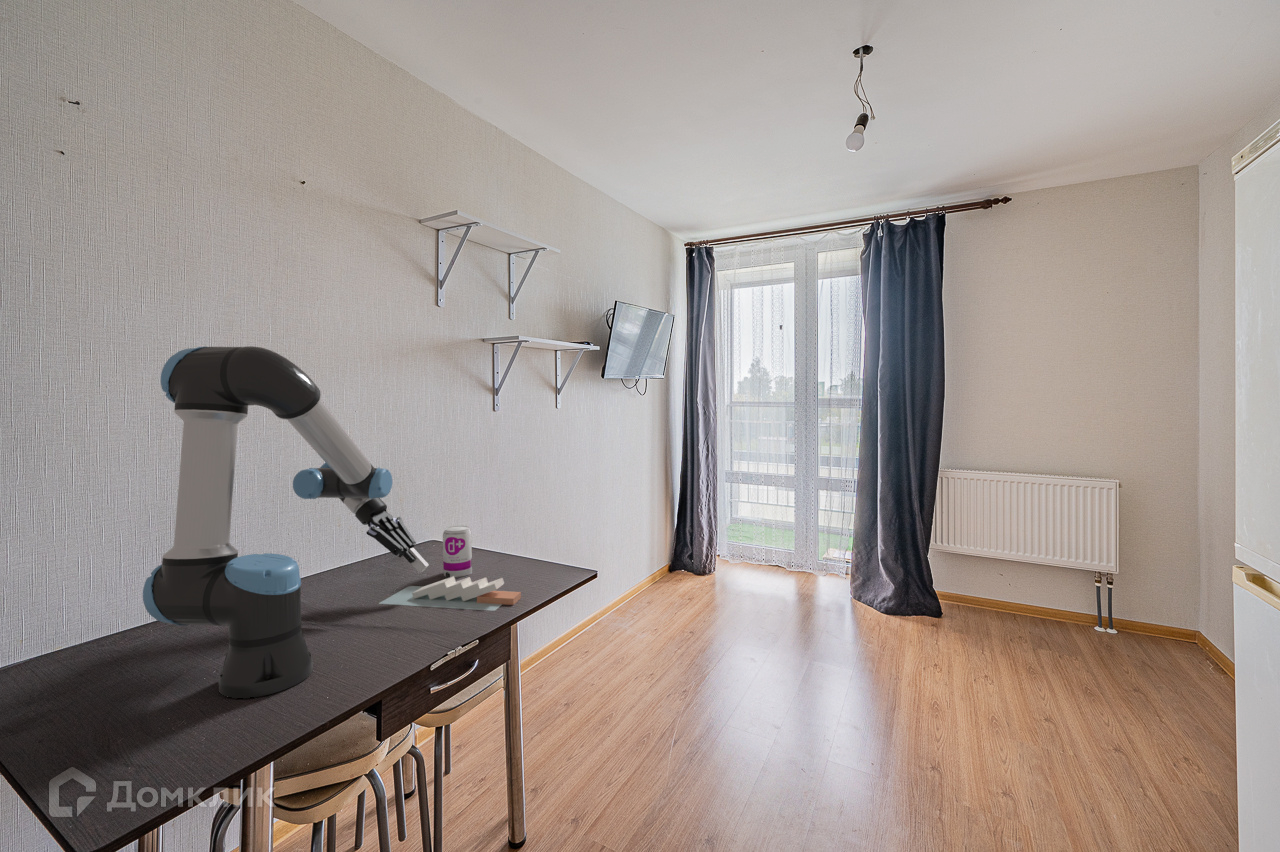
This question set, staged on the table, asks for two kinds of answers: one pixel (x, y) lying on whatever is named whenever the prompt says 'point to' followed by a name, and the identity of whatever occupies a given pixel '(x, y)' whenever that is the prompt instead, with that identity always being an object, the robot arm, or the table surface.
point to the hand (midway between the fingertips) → (424, 569)
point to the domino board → (436, 601)
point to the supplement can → (457, 551)
